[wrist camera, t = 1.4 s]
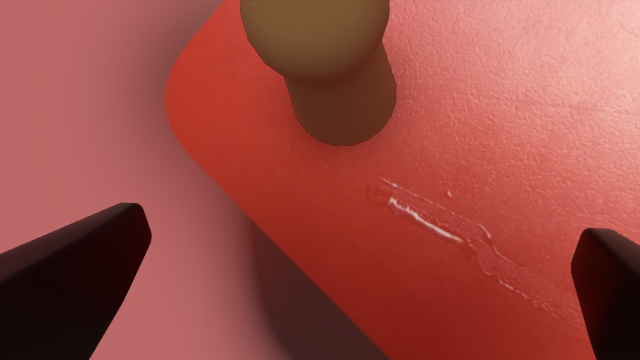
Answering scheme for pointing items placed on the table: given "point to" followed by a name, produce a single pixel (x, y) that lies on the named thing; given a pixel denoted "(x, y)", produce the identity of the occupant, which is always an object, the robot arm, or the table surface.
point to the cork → (327, 62)
